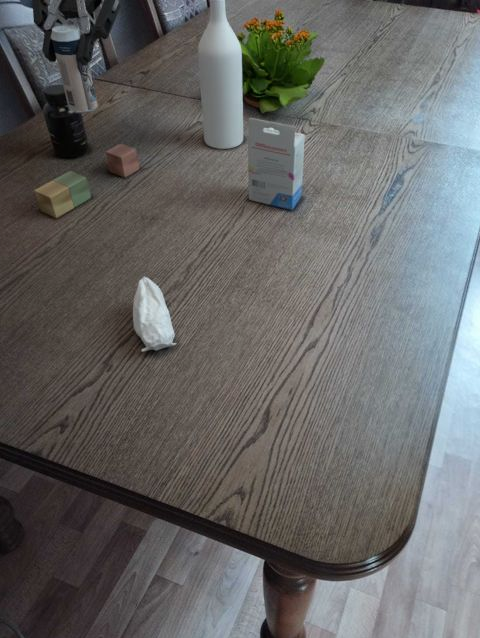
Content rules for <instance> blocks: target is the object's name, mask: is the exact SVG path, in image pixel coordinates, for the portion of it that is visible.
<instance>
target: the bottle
mask: <svg viewBox="0 0 480 638" xmlns="http://www.w3.org/2000/svg"><path fill="white" fill-rule="evenodd" d="M197 59H198V73H199V75H198V76H199V88H200V89H199V90H200V100H201V102H200V103H201V114H202V127H203V128H202V129H203V140H204V143H205V144H206V145H207V146H209V147H211V148H214V149H220V150H228V149H232V148H237V147H238V146H240V145H241V144H242V143H243V142H244V103H243V101H244V95H243V88H242V52H241V45H240V43H239V41H238V39H237V34H235V32H234V30H233V28H232V26H231V25H230V23H229V21H228V19H227V10H226V0H209V21H208V23H207V26H206V27H205V29H204V31H203V33H202V35H201V38H200V41H199V42H198V46H197Z"/></svg>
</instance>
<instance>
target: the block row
mask: <svg viewBox="0 0 480 638" xmlns="http://www.w3.org/2000/svg"><path fill="white" fill-rule="evenodd" d="M105 155H106V162H107V166H108V171H109V172H110V173H112V174H115V175H117V176H120V177H122V178H127V177H129V176H131V175H132V174H133V173H134V174H135V172H137V171H139V170H140V164H139V157H138V151H137V148H134V147H133V146H128V145H126V144H123V143H119V144H117V145H115V146H114V147H113V146H112V148H110V149H108V150H106V151H105ZM87 179H88V178H87V177H86V176H84V175H82V174H79V173H77V172H74V171H73V170H69V171H67V172H65V173H64V174H62V175H60V176H57V177H56V178H54V179H52V180H50V181H49V182H47V183H45V184H43V185H41V186H40V187H39V186H38V188H36V189H34V190H33V193H34V194H35V197H36V201H37V204H38V207H39V210H40V212H41V213H44V214H45V215H48V216H51V217H52V218H55V219H58V218H60V217H61V216H63V215H65V214H66V213H68V212H70V211H72V210H73V209H75V208H77V207H79V206H80V205H82V204H83V203H85V202H87V201H89V200H90V199H91V198H92V196H91V191H90V187H89V183H88V180H87Z"/></svg>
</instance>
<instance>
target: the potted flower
mask: <svg viewBox="0 0 480 638" xmlns="http://www.w3.org/2000/svg"><path fill="white" fill-rule="evenodd" d="M274 12H275V13H274V18H273V19H271V20H269V19H268V18H267V19H263V20H262V21H261V19H260V18H257V17H253V18H252V20H250V21H249V20H247V21H245V22H244V25H243V26H242V29H246V30H247V32H248V37H247V40H246V42H245V38H246V34H245V33H244V31H243V30H242V31H241V32H240V33H236V37H237V39H238V41H239V43H240V45H241V52H242V94H243V100H244V102H246V103H247V104H248V105H250V106H252V107H254V108H259V111H260V113H261V114H262V115H264V114H265V113H268V112H274V111H277V110H278V109H280V106H282V107H283V108H284V109H286V108H288V107H289V106H290V105H292V104H293V103H295V102H297V101H299V100H301V99H304V98H306V97H308V96H307V95H309V92H310V91H309V90H308V89H310V88H311V85H313V81H315V80H316V76H317V75H318V74H319V72H320V71H321V69H322V68H323V66H324V65H325V62H326V61H325V58H324V57H320V58H319V57H318V56H317V57H314V58H309V57H310V54H311V53H312V51H313V49H312V47H311V46H312V45H313V42H312V41H313V40H314V39H315V40H316V38H318V37H319V36H320V34H319V33H318V32H316V31H315V32H312V30H310V31H309V29H308V28H305V29H302V30H299V32H298V33H297V32H294V31H293V28H292V27H291V25H287V27H286V28H285V26H284V25H285V24H286V22H285V21H284V19H285V18H286V16H285V14H284V10H283V9H280V10H279V9H276V10H274ZM284 34H285V36H284ZM306 58H309V59H306Z"/></svg>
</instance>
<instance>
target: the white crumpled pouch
mask: <svg viewBox="0 0 480 638" xmlns="http://www.w3.org/2000/svg"><path fill="white" fill-rule="evenodd" d="M132 303H133V305H132V321H133V329H134V332H135V334H136V335H137V336H138V337H139V338H140V339H141V342H143V344H144V346H145V347H144V348H142V349H141V352H142V353H143V352H146V351H151V350H153V351H159V350H162V349H165V348H171V347H174V346H176V345H177V342H174V339H175V336H176V334H175V330H174V327H173V323H172V319H171V315H170V311H169V309H168V307H167V303H166V301H165V296H164V294H163V291H162V290H161V288H160V286H158V285H157V284H156V283H155V282H154V281H153V280H151V279H150V278H149V277H146V276H145V275H144V276H143V277H142V278H141V279H139V280H138V284H137V288H136V292H135V294H134V297H133V302H132Z"/></svg>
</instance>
